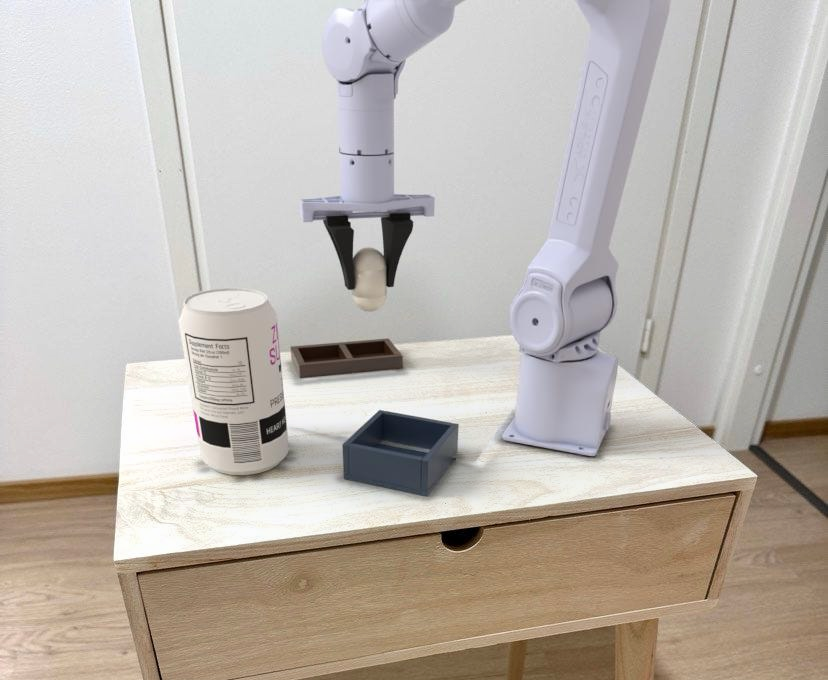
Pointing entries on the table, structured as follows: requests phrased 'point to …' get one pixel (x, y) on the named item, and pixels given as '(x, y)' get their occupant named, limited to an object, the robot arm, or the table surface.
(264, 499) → the table surface
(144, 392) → the table surface
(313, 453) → the table surface
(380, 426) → the bin
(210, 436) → the supplement can
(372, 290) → the cream capsule
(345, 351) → the tray
